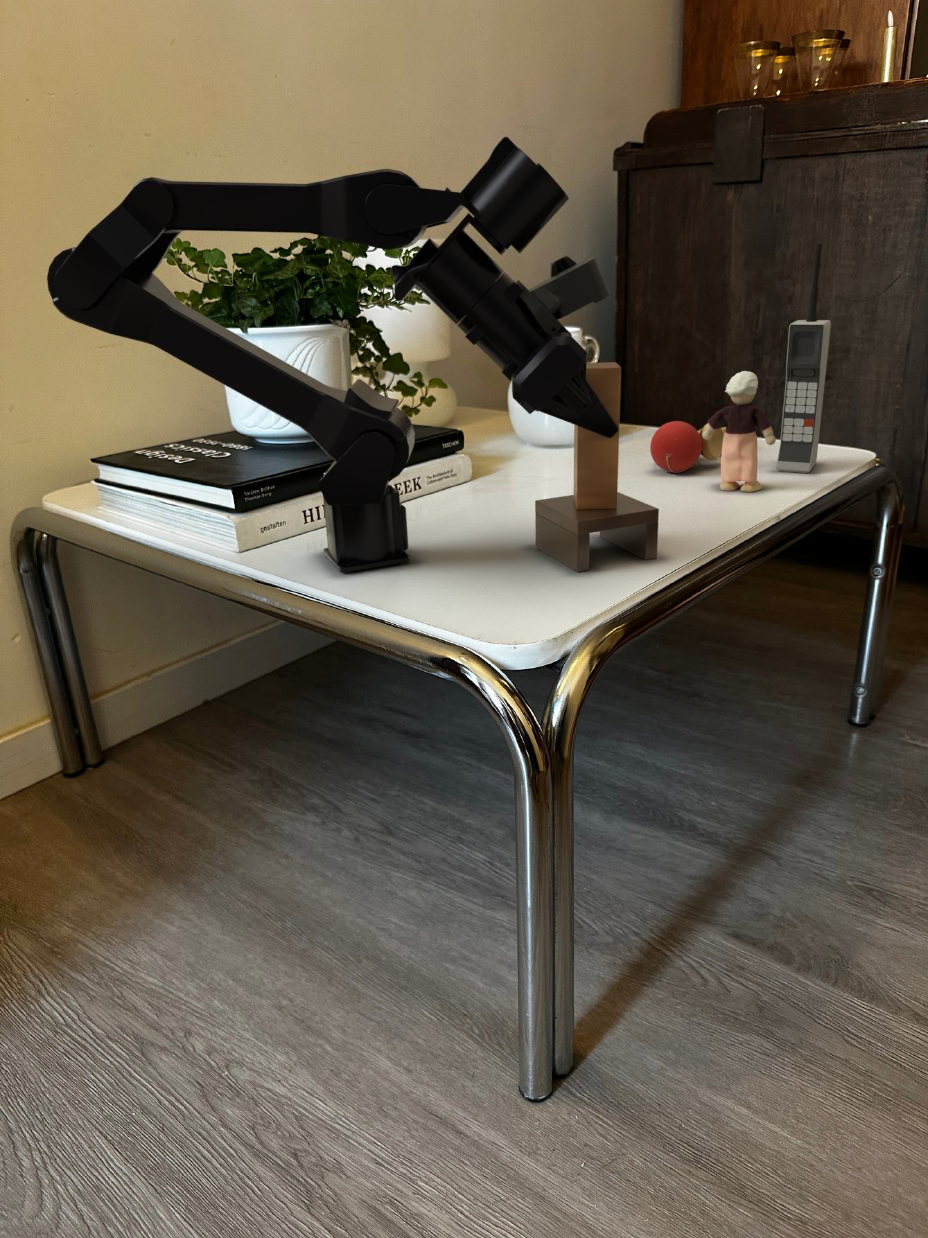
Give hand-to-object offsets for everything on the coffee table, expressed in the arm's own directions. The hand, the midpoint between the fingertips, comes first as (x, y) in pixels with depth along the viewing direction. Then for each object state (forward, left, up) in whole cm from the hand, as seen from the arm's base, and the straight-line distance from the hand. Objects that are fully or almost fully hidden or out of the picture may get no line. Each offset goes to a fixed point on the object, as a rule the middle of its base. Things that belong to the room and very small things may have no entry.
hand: (612, 429), depth 80 cm
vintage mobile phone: (+36, +17, -11) cm, 41 cm away
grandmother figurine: (+24, +13, -11) cm, 29 cm away
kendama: (+28, +26, -11) cm, 40 cm away
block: (-1, +1, -7) cm, 7 cm away
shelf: (-1, +1, -11) cm, 11 cm away
